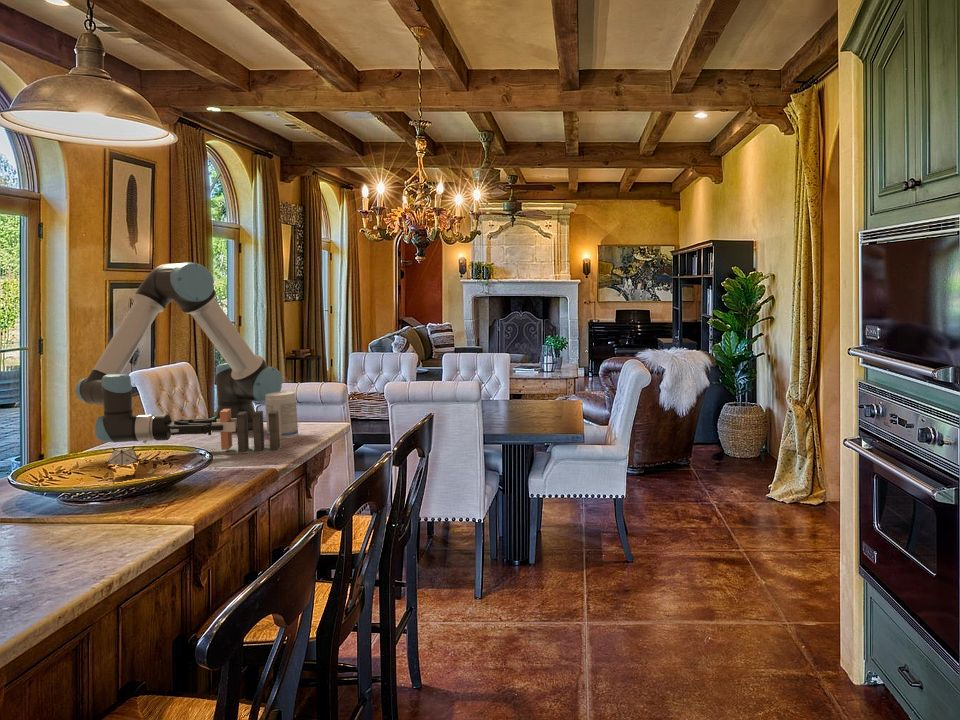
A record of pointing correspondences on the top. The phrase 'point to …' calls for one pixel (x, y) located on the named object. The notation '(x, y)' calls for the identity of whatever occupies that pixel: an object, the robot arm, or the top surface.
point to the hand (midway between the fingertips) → (237, 424)
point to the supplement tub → (283, 412)
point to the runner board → (250, 450)
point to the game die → (123, 456)
